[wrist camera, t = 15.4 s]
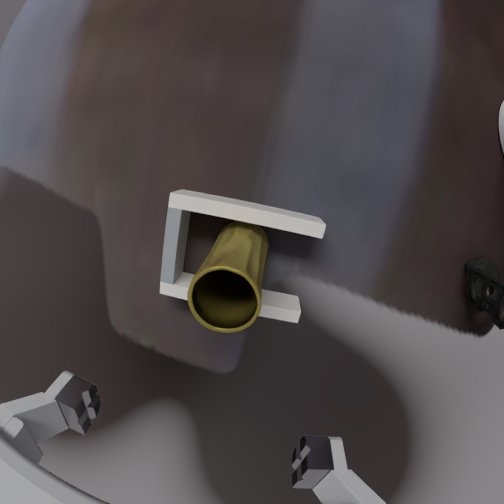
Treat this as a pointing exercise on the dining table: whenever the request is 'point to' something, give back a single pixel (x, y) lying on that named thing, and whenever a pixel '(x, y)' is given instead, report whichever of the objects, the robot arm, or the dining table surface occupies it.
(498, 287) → the holder
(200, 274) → the vase
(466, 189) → the dining table surface
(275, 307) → the bracket
